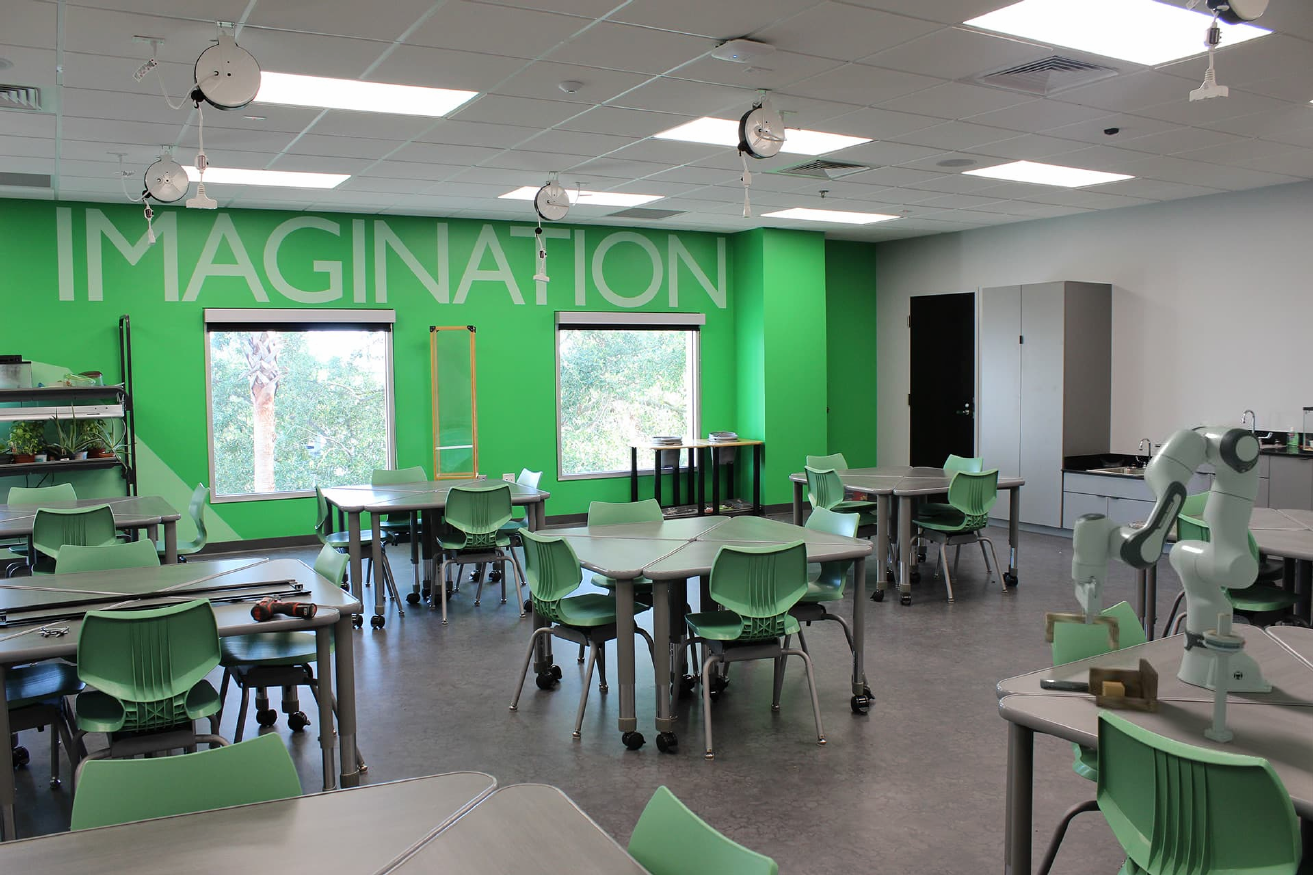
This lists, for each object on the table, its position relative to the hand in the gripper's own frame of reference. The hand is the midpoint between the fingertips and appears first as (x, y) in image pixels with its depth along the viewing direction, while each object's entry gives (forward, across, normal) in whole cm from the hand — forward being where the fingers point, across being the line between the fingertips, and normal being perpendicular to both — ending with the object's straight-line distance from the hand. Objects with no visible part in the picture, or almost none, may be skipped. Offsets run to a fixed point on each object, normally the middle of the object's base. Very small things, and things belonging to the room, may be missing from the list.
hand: (1087, 622), depth 260 cm
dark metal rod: (+18, -2, +6) cm, 19 cm away
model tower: (+18, -30, -25) cm, 43 cm away
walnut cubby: (+18, -9, -7) cm, 22 cm away
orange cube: (+18, -9, -5) cm, 21 cm away
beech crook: (+6, 0, +2) cm, 6 cm away
